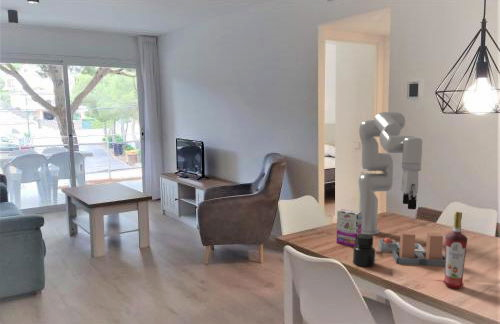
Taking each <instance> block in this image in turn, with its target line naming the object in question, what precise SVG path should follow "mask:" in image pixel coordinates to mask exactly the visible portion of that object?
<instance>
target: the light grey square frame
mask: <svg viewBox="0 0 500 324" xmlns="http://www.w3.org/2000/svg"><path fill="white" fill-rule="evenodd" d="M396 243H397V251H400V242H396ZM414 252H426V249H424V247H423V246H422V245H421V243H415V250H414Z"/></svg>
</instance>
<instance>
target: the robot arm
mask: <svg viewBox="0 0 500 324" xmlns="http://www.w3.org/2000/svg"><path fill="white" fill-rule="evenodd" d="M405 125H406V117H405V116H404V115H403V114H402V113H401V112H399V111H398V112H394V111H392V112H391V111H388V112H387V111H384V112H383V111H382V112H379V113H377V114H376V115H375V116H374V118H373V120H372V119H371V120H370V119H369V120H363V121H362V122H361V123H360V124H359V128H358V134H359V138H360V139H359V140H360V141H361V167H362V169H363V170H364V171H367V172H371V173H363V174H362V175H360V176H359V177H358V189H359V191H358V192H359V205H358V206H359V210H358V212H361V213H362V234H368V235H371V236H374V235H378V234H380V232H381V231H380V229H379V228H378V209H379V199H378V197H377V195H376V194H375V192H389V191H391V190H392V188H393V183H394V182H393V181H394V180H393V179H394V178H393V177H394V162H393V161H394V160H393V157H392V156H391V155H390V154H402V161H401V170H402V177H401V186H400V187H401V188H400V190H401V192H402V194H403V195H402V204H403V205H407V209H408V210H416V209H417V197H418V195H417V194H418V192H419V172H421V171H422V157H423V139H422V138H421V137H418V136H415V135H400V134H401V131H402V130H403V128H405ZM376 138H379V142H378V141H377V139H376ZM379 143H380V145H379ZM379 146H381V147H382V149H383V150H384V151H385V152H379V148H380V147H379ZM389 153H390V154H389ZM373 172H381V173H373Z"/></svg>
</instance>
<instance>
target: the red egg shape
mask: <svg viewBox="0 0 500 324" xmlns="http://www.w3.org/2000/svg"><path fill="white" fill-rule="evenodd" d="M384 239H385V240H384V243H391V239H392V238H390V237H384Z"/></svg>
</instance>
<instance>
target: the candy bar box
mask: <svg viewBox="0 0 500 324" xmlns="http://www.w3.org/2000/svg"><path fill="white" fill-rule="evenodd" d="M336 218H337V220H336V221H337V222H336V224H337V225H336V244H339V245H344V246H348V247H353V248H354V247H355V246H356V245H357V244H356V243H357V242H356V239H357V235H359V234H362V213H361V212H359V211H353V210H349V209H339V210H337V217H336Z"/></svg>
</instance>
